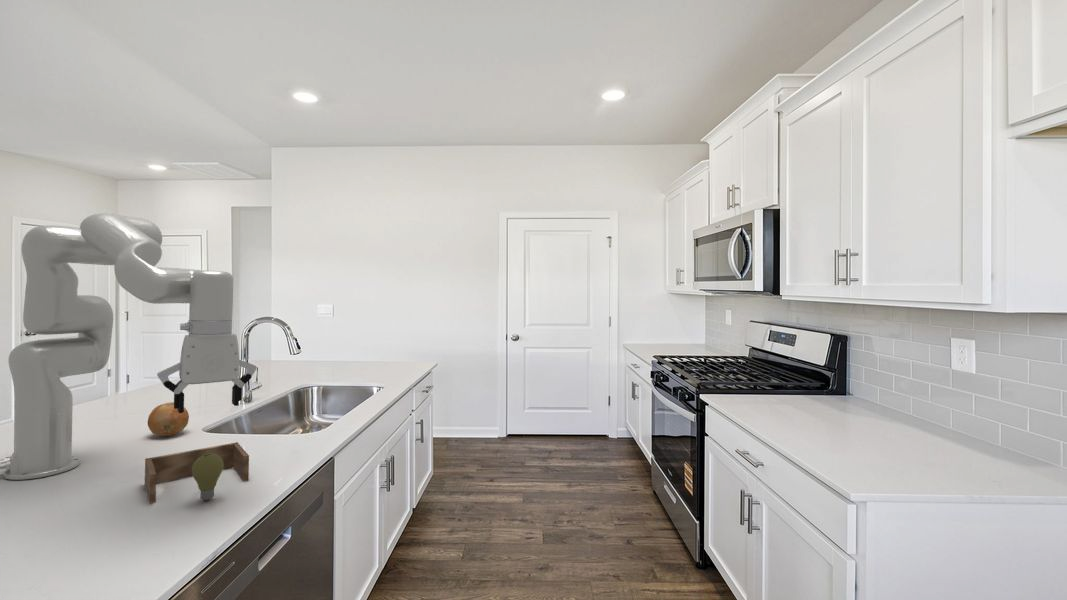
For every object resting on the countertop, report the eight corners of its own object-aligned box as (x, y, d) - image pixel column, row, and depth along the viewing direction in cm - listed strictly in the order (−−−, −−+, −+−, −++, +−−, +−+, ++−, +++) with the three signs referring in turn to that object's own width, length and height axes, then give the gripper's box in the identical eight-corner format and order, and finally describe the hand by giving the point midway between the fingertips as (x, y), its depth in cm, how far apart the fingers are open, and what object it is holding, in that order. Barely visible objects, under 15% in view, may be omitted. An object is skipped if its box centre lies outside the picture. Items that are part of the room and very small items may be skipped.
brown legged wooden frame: (149, 503, 94) (150, 475, 94) (144, 484, 103) (145, 458, 103) (248, 480, 107) (249, 455, 107) (236, 465, 116) (237, 442, 116)
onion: (185, 428, 143) (186, 397, 143) (191, 436, 136) (192, 403, 136) (145, 434, 136) (146, 401, 136) (149, 443, 129) (150, 408, 129)
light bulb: (205, 508, 93) (206, 460, 93) (184, 504, 95) (185, 457, 94) (229, 496, 99) (230, 451, 99) (208, 493, 100) (209, 448, 100)
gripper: (160, 331, 87) (158, 419, 87) (261, 328, 99) (259, 405, 100) (156, 328, 92) (154, 410, 93) (252, 326, 105) (250, 399, 105)
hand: (208, 408), depth 96 cm, fingers open, 9 cm apart
